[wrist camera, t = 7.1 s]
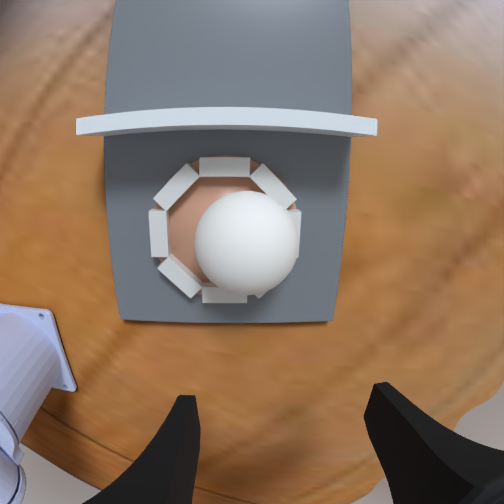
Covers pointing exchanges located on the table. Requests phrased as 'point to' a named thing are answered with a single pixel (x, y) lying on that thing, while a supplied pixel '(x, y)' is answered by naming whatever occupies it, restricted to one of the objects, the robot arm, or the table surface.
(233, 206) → the ball
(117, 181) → the board
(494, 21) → the table surface
